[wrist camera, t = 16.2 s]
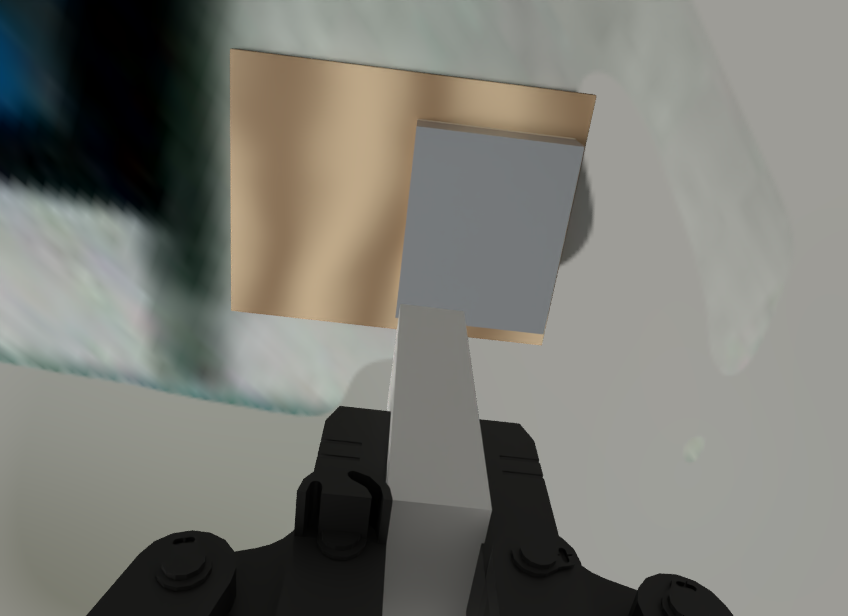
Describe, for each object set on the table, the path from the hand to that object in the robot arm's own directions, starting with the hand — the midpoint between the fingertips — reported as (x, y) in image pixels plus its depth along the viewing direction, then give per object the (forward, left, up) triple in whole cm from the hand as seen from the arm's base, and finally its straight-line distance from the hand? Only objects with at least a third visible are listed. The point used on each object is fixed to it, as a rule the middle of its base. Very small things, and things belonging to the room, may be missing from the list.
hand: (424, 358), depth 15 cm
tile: (-1, -2, -19) cm, 19 cm away
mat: (-1, -2, -20) cm, 21 cm away
